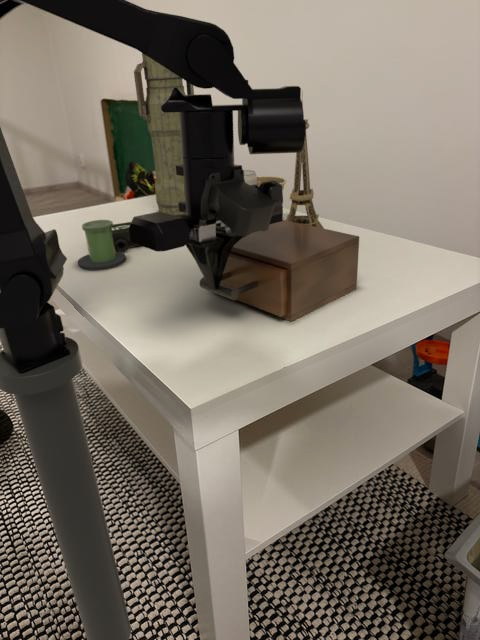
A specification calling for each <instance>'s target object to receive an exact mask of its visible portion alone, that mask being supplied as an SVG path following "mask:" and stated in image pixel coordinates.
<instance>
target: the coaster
mask: <svg viewBox="0 0 480 640" xmlns="http://www.w3.org/2000/svg"><path fill="white" fill-rule="evenodd" d="M115 251H116V258H115V259H114V260H111V261H108V262H102V263H96V262H92V261H90V257H89V254H85V255H84V256H82V257H80V258H79V259H78V260H77V266H78V268H79V269H82V270H86V271H104V270H109V269H113V268H116V267H118V266H121V265H123V264H124V263H125V262H126V261H127V256H126V254H125V253H123V252H120V251H118V250H115Z"/></svg>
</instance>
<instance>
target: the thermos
mask: <svg viewBox="0 0 480 640" xmlns="http://www.w3.org/2000/svg"><path fill="white" fill-rule="evenodd" d="M141 56H142V61H141V63H138V64H136V66H135V68H134V70H133V77H134V84H135V91H136V93H135V94H136V100H137V107H138V109H137V110H138V116H139V117H141V119H143V120H144V121H146V122H147V131H148V133H149V135H150V137H151V138H150V139H151V146H152V154H153V164H154V173H155V181H154V191H155V192H154V193H155V200H156V204H157V207H158V212H163V213H167V214H171V215H181V214H186V213H183V212H179V205H178V203H180V202H185V194H184V178H183V176H180V175H176V166H178V165H183V163H182V148H181V133H180V118H179V112H169V113H165V112H163V111H162V110H161V106H162V105H163V104H164V103H165V102H166V101H167V100H168V99H169V97H170V96H171V93H172V91H173V88H175V87H176V88H178V90H179V91H180V92H181V93H182V94H183V95H195V91H194V89H195V88H194V87H195V86H194V85H192V84H190V83H188V82H187V81H185V83H186V92H185V85H184V82H183V81H184V80H183V79H182V78H181V77H179V76H177V75H176V74H174V73H173V72H171V71H170V70H168V69H167V68H165V67H163V66H162V65H160V64H159V63H157V62H156V61H154V60H152V59H151V58H149V57H148V56H146V55H145V54H143V53H142V52H141ZM142 70H143V74H144V80H145V81H146V82H145V83H146V88H145V91H146V97H145V93H144V86H143V85H144V84H143V78H142Z"/></svg>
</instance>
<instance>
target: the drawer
mask: <svg viewBox="0 0 480 640" xmlns="http://www.w3.org/2000/svg"><path fill="white" fill-rule="evenodd" d="M199 287H200V288H201V289H204V290H206V291H209V292H212V293H215V294H217V295H219V296H222V297H224V298H226V299H229V300H231V301H238V300H240V301H239V302H241V301H242V302H241V303H243V302H245V303H244V304H246V303H247V304H246V305H248V304H250V305H249V306H251V305H252V306H251V307H253V306H255V307H254V308H256V307H257V308H256V309H258V308H260V309H259V310H261V309H262V310H261V311H263V310H265V311H264V312H266V311H268V312H270V313H269V314H271V313H273V314H275V315H274V316H276V315H278V316H277V317H279V316H280V317H279V318H281V317H282V316H284V315H286V314H288V305H287V270H286V268H283V267H280V266H276V265H273V264H270V263H266V262H263V261H260V260H257V259H253V258H250V257H247V256H243V255H240V254H237V253H234V252H230V254H229V257H228V260H227V263H226V266H225V269H224V272H223V275H222V278H221V282H220V285H219V288H218V289H217V290H213V289H211V288H210V287H209V285H208V283H207V281H206V280H205V278H204V276H203V277H202V278H200V279H199ZM236 299H237V300H236ZM268 312H267V313H268ZM273 314H272V315H273Z"/></svg>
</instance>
